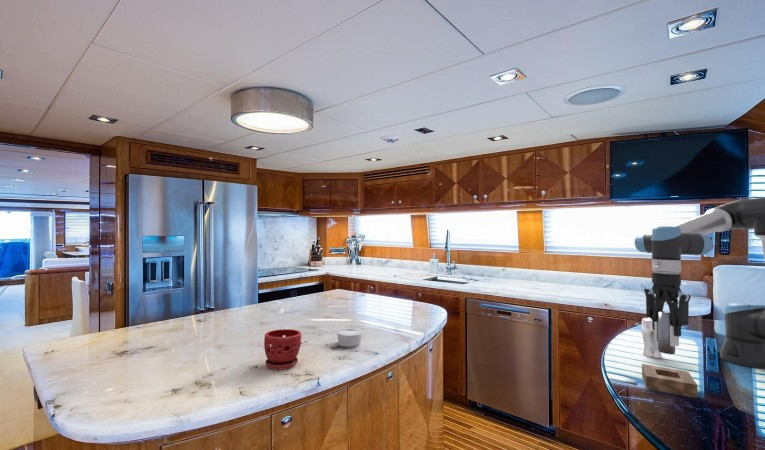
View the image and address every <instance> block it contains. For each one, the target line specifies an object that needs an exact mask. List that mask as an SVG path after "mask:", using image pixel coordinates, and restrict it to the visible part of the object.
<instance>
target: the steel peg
mask: <svg viewBox="0 0 765 450" xmlns="http://www.w3.org/2000/svg"><path fill="white" fill-rule="evenodd" d="M671 324H672V320H671V315H670V311H667V310H663V311H658V351H659V352H661V354H662V353H663V354H667V355H675V354H676V346H670V325H671Z"/></svg>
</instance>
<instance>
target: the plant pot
mask: <svg viewBox="0 0 765 450" xmlns="http://www.w3.org/2000/svg"><path fill="white" fill-rule="evenodd" d="M263 341H264V342H263V344H264V346H263V347H264V352H265V357H266V360H265V362H264V363H265V365H266V367H267V368H270V369H271V370H276V371H279V370H287V369H291V368H292V367H294V366H296V365H297V364H298V362H299V359H298V355H299V352H300V348H301V343H302V332H301V331H299V330H297V329H293V328H292V329H291V328H290V329H288V328H286V329H285V328H283V329H281V328H280V329H273V330H269V331H266V333H264V340H263Z"/></svg>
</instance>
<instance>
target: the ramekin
mask: <svg viewBox="0 0 765 450" xmlns="http://www.w3.org/2000/svg"><path fill="white" fill-rule="evenodd" d="M336 335H337V342H338V344H339V346H341V347H346V348H352V347H357V346H359V345H360V343H361V341H362V335H363V331H362V330H359V329H356V328H355V329H353V328H345V329H340V330H338V331H337V332H336Z"/></svg>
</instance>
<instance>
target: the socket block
mask: <svg viewBox="0 0 765 450" xmlns="http://www.w3.org/2000/svg"><path fill="white" fill-rule="evenodd" d="M641 377H642V379H643V383H644V386H645V388H646V389H647V390H648V389H649V390H654V391H658V392H659V391H660V392H663V393H667V394H674V395H678V396H679V395H680V396H684V397H688V398H693V399H698V383H697V382H696V381H695V379H694V378H693V376H692V375H691V374H690V372H689V371H688V370H681V369H676V368H675V369H674V368H668V367H662V366H657V365H652V364H651V365H650V364H645V363H641Z"/></svg>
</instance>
